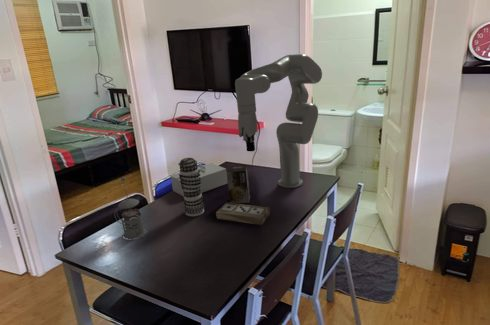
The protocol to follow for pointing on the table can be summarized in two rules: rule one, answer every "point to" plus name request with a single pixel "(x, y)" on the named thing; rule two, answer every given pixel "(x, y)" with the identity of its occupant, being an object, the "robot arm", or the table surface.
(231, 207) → the tile one
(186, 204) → the decorative candle
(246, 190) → the coffee box
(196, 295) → the table surface
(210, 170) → the tissue box
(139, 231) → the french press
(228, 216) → the wooden dot tile board
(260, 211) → the tile two
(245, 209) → the tile three
